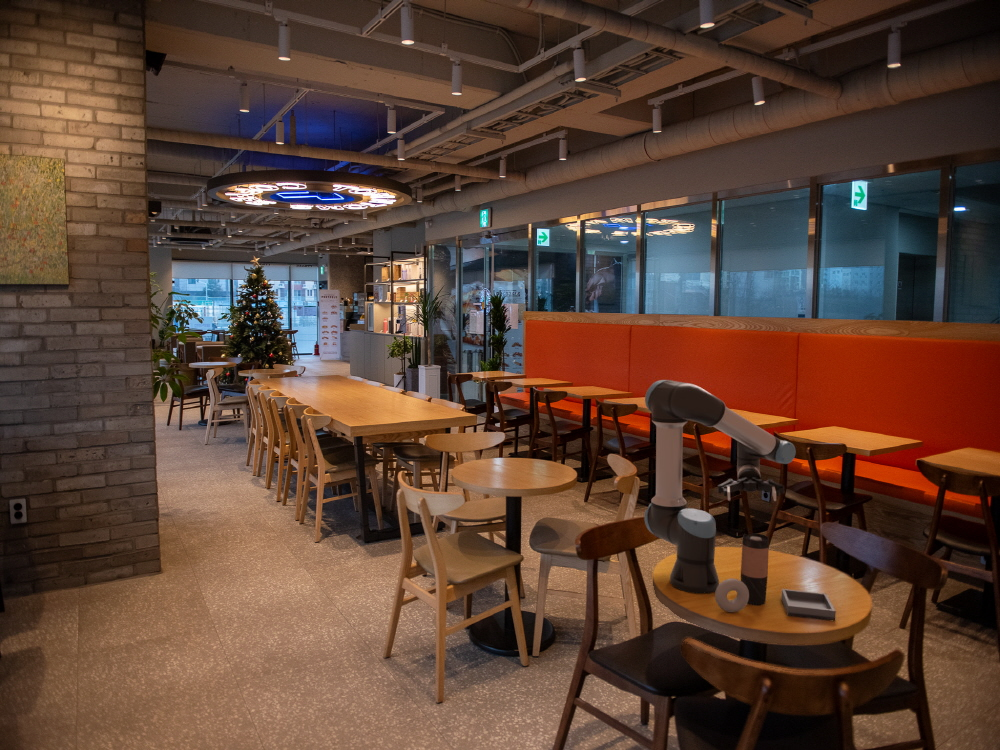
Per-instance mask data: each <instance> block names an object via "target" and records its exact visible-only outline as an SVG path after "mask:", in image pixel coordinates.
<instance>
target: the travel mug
mask: <svg viewBox="0 0 1000 750" xmlns="http://www.w3.org/2000/svg"><path fill="white" fill-rule="evenodd" d="M769 546H770V538H769V536H767V535H765V534H761V533H757V532H756V533H755V532H754V533H751V534H746V533H744V534H743V535H742V545H741V547H742V548H741V562H740V563H741V564H740V581H742V582H743V583H744V584H745V585H746V587H747V589H748V591H749V599H748V602H747V604H746V605H750V606H755V607H756V606H757V607H758V606H763V605H765V604H766V602H767V601H766V599H767V585H768V578H769V577H768V575H769V574H768V573H769V555H770V554H769V552H770V551H769V550H770V549H769V548H770V547H769Z"/></svg>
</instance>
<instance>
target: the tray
mask: <svg viewBox="0 0 1000 750" xmlns="http://www.w3.org/2000/svg"><path fill="white" fill-rule="evenodd" d="M780 599H781V602H782V605H783V608H784V609H785V612H786V614H787V616H788V617H795V618H804V619H812V620H821V621H830V620H833V621H832V622H836V614H837V613H836V611H837V610H836V609H835V607H834V605H833V603H832V602H831V599H830V597H829V596H828V594H827V593H825V592H824V593H823V592H815V591H806V590H796V589H795V590H794V589H787V588H781V597H780Z"/></svg>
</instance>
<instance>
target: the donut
mask: <svg viewBox="0 0 1000 750" xmlns="http://www.w3.org/2000/svg"><path fill="white" fill-rule="evenodd" d="M731 591H734V592H736V597H735V598H734V599H733V600H732V599H731V600H729V599H728V594H729V593H730V592H731ZM714 599H715V602H716V604H717V607H719V608H720V609H721V610H722V611H724V612H727V613H737V612H740V611H741V610H743V609H744V608H745V607H746V606H747V605H748V604H747V602H748V599H749V591H748V589H747V587H746V585H745V584H744V583H743V582H742V581H741V579H740V580H739V579H737V578H727V579H724V580H722V581H720V582H719V585H718V587H717V589H716V591H715V592H714Z"/></svg>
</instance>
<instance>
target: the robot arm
mask: <svg viewBox="0 0 1000 750" xmlns="http://www.w3.org/2000/svg"><path fill="white" fill-rule="evenodd" d="M644 397H645V398H644V402H645V403H644V404H645V406H646V408H647V409H648V410H649V412H650V413H651V422H652V423H653V424H654V425H655V429H656V430H655V431H656V432H655V434H656V437H655V439H656V443H655V450H656V452H655V453H656V454H655V455H656V456H655V460H656V461H655V495H654V496H653V497H652V498H651V500H650V501H651V503H649V504H648V506H647V509H645V511H644V517H643V518H644V523H645V526H646V528H647V530H648V531H649V533H651V534H653V536H655V537H656V538H659V539H661V540H663V541H665V542H668V543H670V544H672V545H674V546H676V560H675V562H674V565H673V568H672V570H671V573H670V574H669V575H670V578H669V582H670V585H671V584H672V585H673V586H672V585H671V586H672V587H674V588H675V589H677V590H679V591H683V592H686V593H690V594H702V595H704V594H711V593H715V592H716V589H717V587H718V585H719V584H720V580H719V576H718V573H717V568H716V564H715V553H716V535H717V528H716V520H715V518H714V516H713V515H712V514H710V513H709V512H707V511H704V510H702V509H698V508H697V509H696V508H687V505H688V503H687V500H686V499H685V498H684V496H683V449H684V448H683V442H684V441H683V440H684V438H683V434H684V433H683V432H684V426H685V425H686V424H688V421H691V422H696V423H699V424H701V425H704V426H705V427H707V428H712V427H713V428H715V429H716V430H718V431H720V432H722V433H723V434H725V435H727V436H729V437H730V438H732V439H734V440H735V441H736V444H737V445H736V446H737V447H736V450H737V452H736V453H737V456H736V457H737V458H736V460H737V461H736V464H737V465H736V473H737V480H733V478H728V479H727V480H726V481H723V482H722V483H720V484H718V485H717V493H718V494H723V496H724V497H727V501H731V493H735V492H737V491H739V492H743V491H745V492H749V493H754V492H756V491H757V492H762V491H763V492H766V493H769V494H772V498H773V501H774V502H777V497H779V496H780V495H785V485H783V484H781V483H778V482H776V481H774V480H773V479H772V478H767V479H766V481H765V480H763V479H762V477H761V476H762V475H761V469H760V468H761V465H760V463H761V460H760V459H764V460H767V461H772V462H775V463H777V464H784V465H787V464H790V463H792V462H793V460H794V459H795V456H796V453H797V451H796V447H795V445H794V444H793V443H792V442H790V441H787V440H782V439H779V438H778V437H776V436H774V435H773V434H771V433H769V432H768V431H766V430H765V429H763V428H761V427H760V426H758V425H756V424H755V423H753V422H752V421H750V420H749V419H746V418H745V417H743V416H742V415H740V414H738V413H737V412H736V411H734V410H732V409H731V408H728V407H727V406H726V404H725V401H723V400H722V399H720V398H718V397H717V396H715V395H714V394H712V393H710V392H709V391H707V390H706V389H703V388H702V387H700V386H699V385H696V384H693V383H691V382H690V383H689V382H684V381H683V382H682V381H676V380H672V379H661V380H656V381H654V382H653V383H652V384H651V385H650V386H649V387H648V389H647V391H646V393H645V396H644Z"/></svg>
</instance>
